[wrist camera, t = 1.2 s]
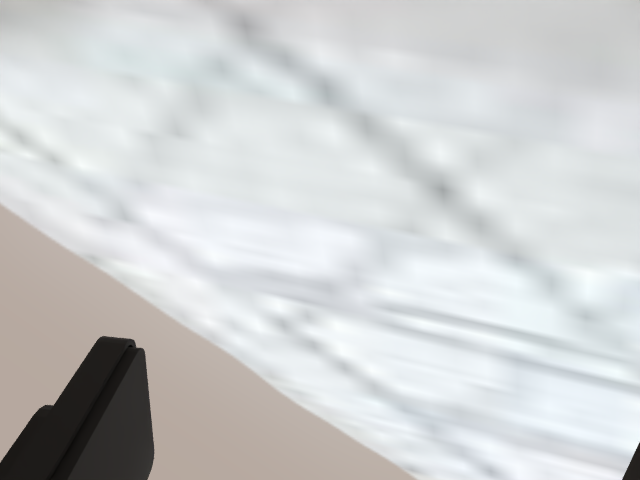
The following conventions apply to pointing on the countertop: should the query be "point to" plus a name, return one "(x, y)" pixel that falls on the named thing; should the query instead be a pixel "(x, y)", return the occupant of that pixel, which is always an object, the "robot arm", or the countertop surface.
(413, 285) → the countertop surface
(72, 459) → the robot arm
